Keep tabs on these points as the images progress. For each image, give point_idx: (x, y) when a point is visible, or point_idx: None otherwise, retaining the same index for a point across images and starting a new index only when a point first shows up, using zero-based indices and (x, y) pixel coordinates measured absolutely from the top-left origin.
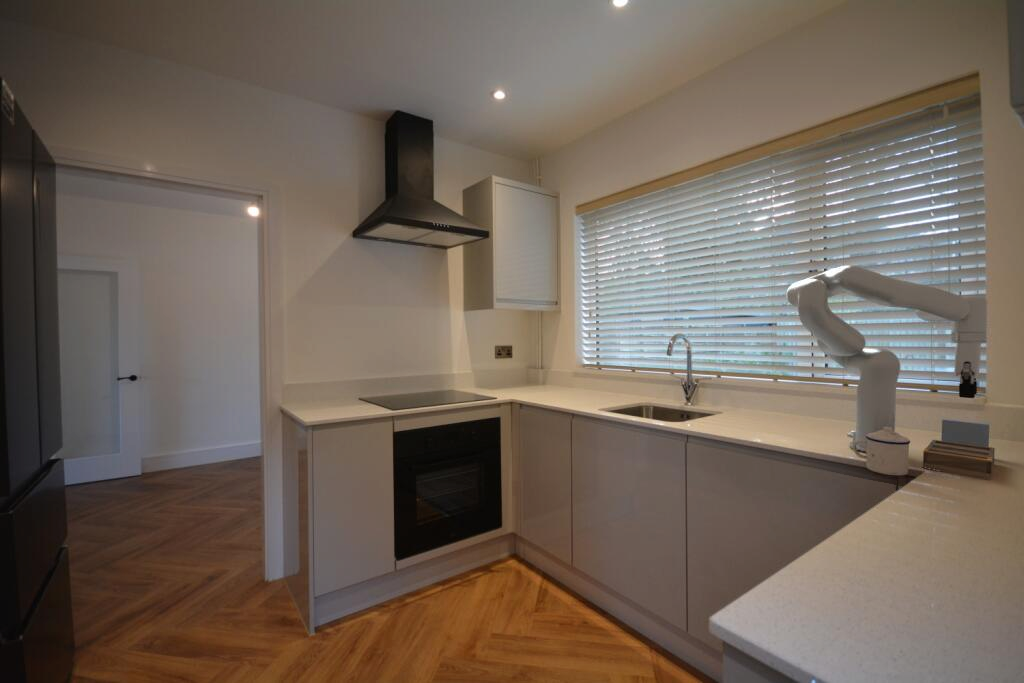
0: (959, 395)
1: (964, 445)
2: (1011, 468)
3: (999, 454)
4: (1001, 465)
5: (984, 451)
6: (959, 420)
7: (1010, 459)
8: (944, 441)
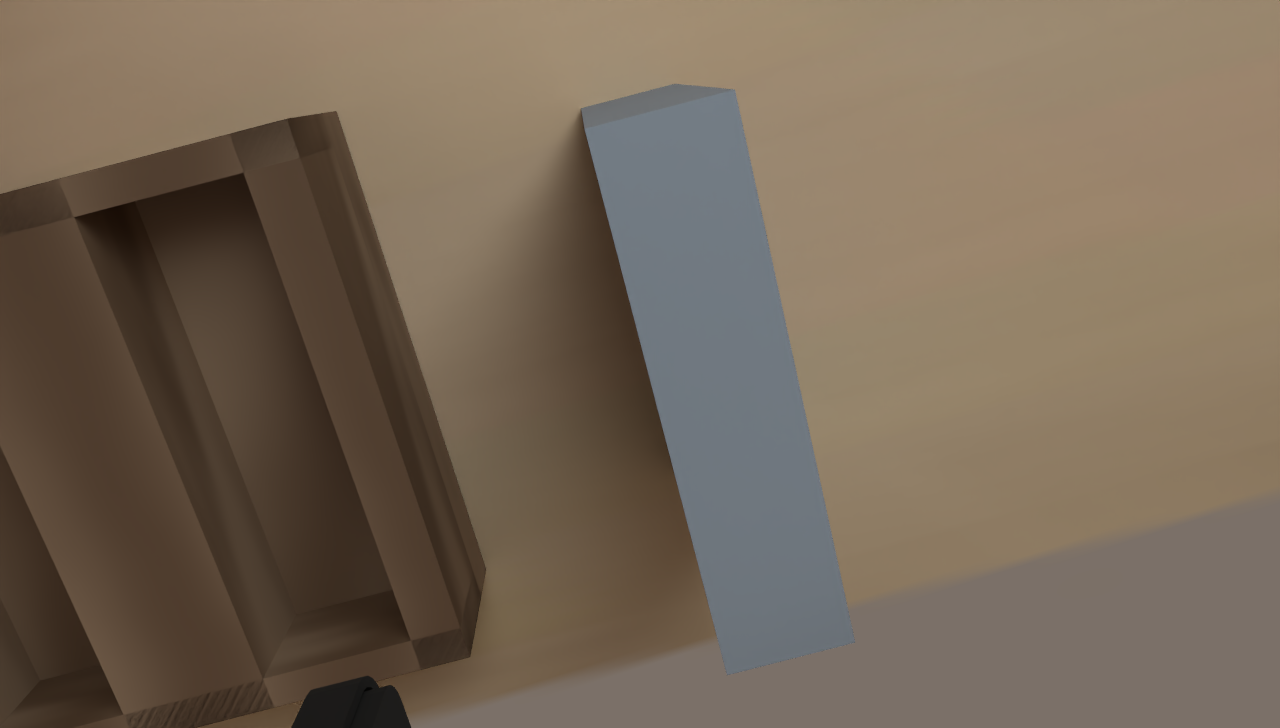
0: (304, 712)
1: (343, 436)
2: (442, 689)
3: (1017, 455)
4: (488, 615)
5: (144, 672)
6: (773, 316)
7: (852, 574)
8: (306, 247)
